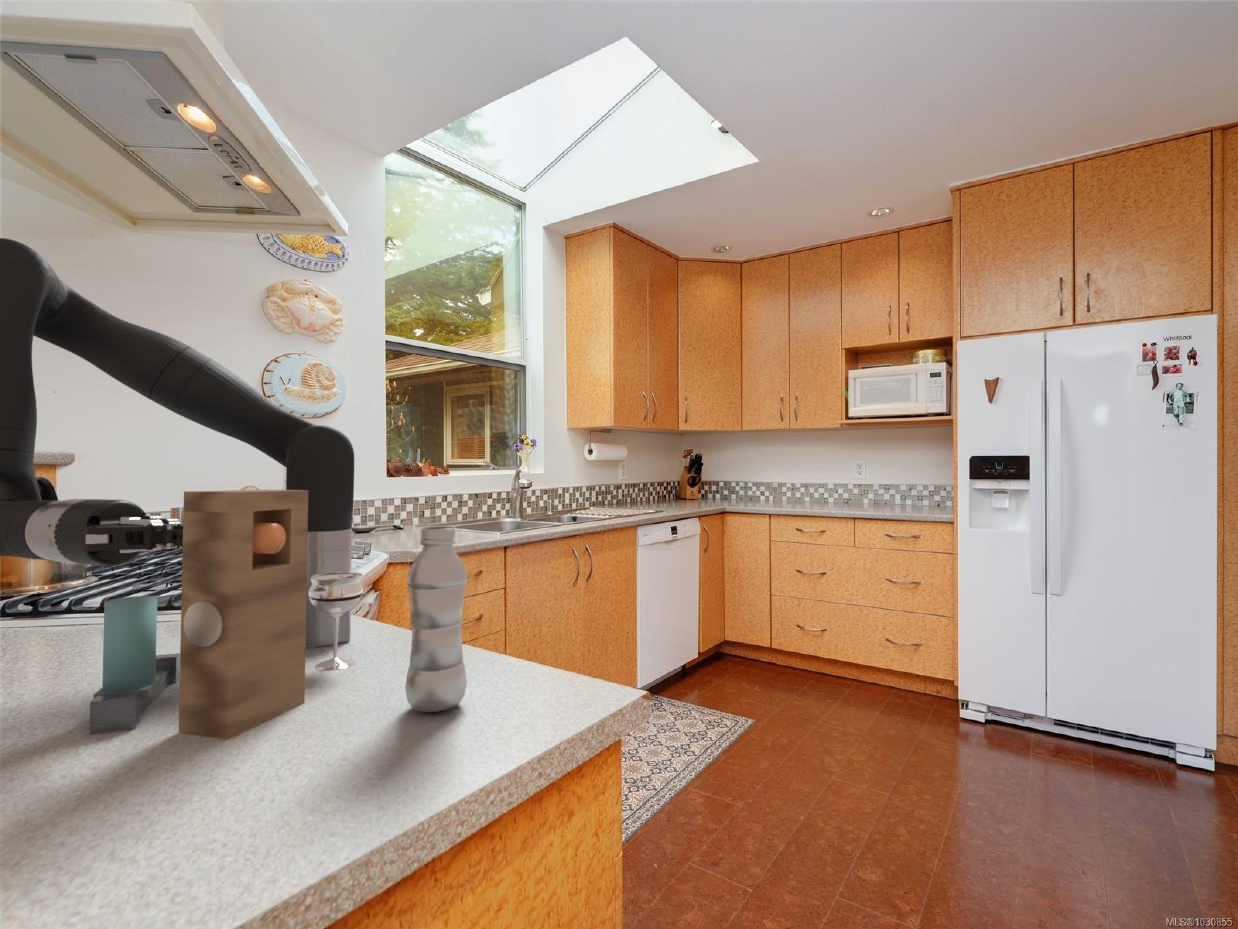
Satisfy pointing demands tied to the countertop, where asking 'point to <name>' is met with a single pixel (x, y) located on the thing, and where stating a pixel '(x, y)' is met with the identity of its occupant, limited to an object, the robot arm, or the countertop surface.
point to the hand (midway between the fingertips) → (209, 536)
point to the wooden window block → (241, 611)
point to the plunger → (268, 538)
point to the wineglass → (335, 605)
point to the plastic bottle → (436, 623)
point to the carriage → (130, 647)
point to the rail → (130, 701)
